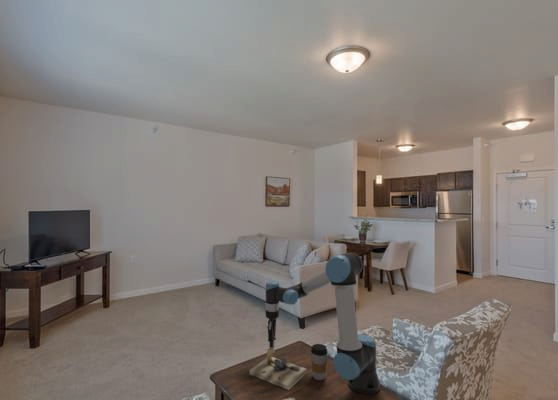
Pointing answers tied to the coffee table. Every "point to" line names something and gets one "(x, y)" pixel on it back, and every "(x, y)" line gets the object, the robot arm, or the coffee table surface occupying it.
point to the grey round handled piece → (276, 361)
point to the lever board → (278, 374)
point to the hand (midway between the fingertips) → (271, 352)
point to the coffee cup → (319, 361)
